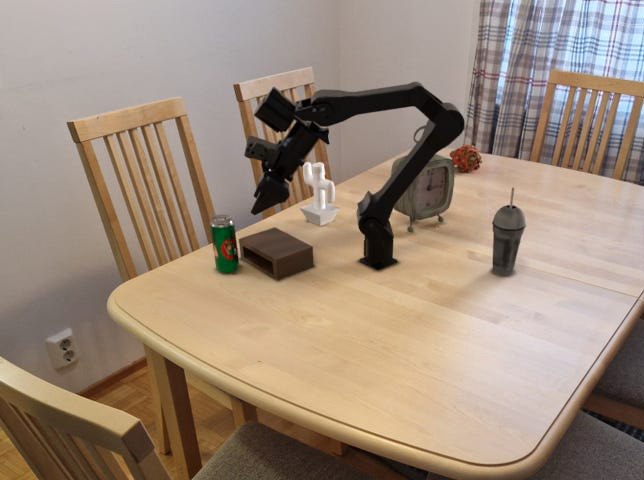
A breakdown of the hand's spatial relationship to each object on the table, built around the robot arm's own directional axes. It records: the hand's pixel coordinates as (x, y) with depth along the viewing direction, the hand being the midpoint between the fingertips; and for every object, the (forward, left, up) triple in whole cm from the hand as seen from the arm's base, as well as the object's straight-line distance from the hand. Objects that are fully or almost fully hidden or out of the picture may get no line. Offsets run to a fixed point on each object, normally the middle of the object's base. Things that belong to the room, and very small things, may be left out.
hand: (254, 205), depth 137 cm
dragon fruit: (+12, -86, -14) cm, 88 cm away
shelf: (-2, -3, -14) cm, 15 cm away
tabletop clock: (-8, -44, -14) cm, 47 cm away
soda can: (+3, +7, -14) cm, 16 cm away
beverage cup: (-39, -39, -14) cm, 57 cm away
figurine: (+10, -26, -14) cm, 31 cm away
